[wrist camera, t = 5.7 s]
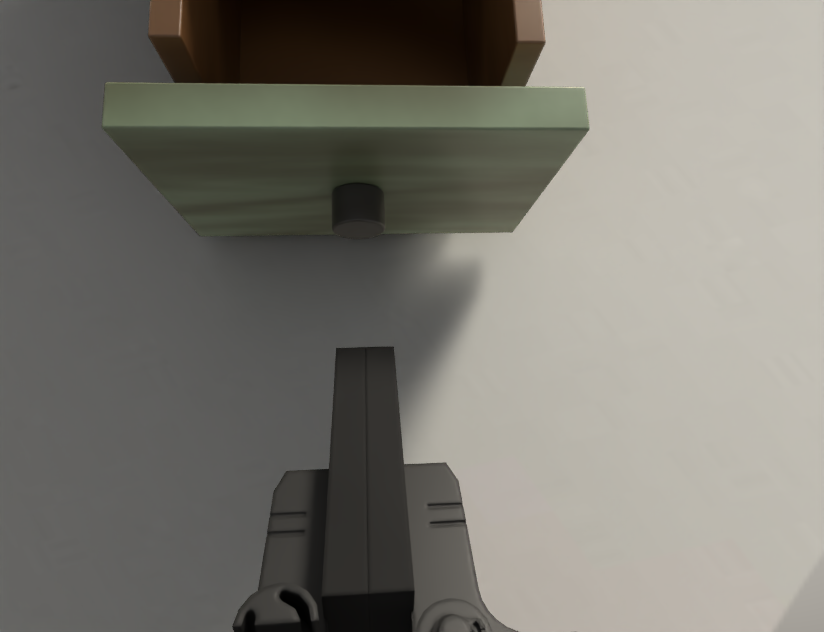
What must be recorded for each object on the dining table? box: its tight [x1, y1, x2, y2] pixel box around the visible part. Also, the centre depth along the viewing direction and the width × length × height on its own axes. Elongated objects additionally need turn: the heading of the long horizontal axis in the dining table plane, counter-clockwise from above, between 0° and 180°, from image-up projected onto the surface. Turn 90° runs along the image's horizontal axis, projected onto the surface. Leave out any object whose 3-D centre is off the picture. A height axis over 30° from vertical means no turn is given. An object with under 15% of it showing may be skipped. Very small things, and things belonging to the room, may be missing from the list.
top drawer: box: [102, 0, 589, 239], centre depth 18 cm, size 15×12×7 cm
